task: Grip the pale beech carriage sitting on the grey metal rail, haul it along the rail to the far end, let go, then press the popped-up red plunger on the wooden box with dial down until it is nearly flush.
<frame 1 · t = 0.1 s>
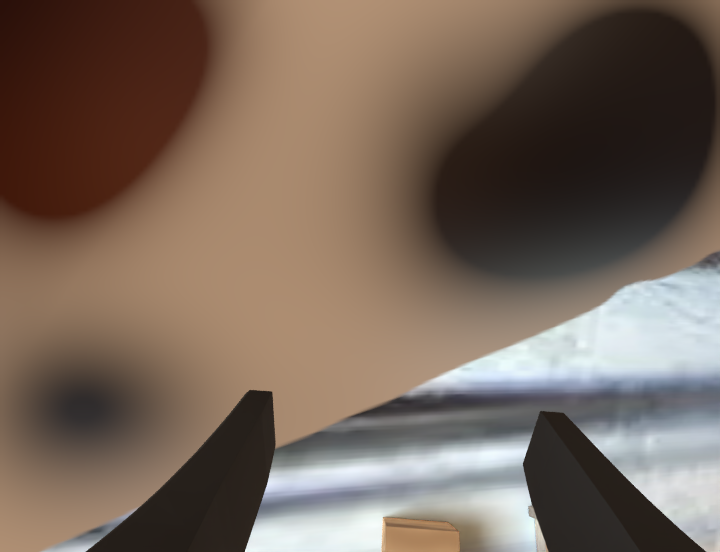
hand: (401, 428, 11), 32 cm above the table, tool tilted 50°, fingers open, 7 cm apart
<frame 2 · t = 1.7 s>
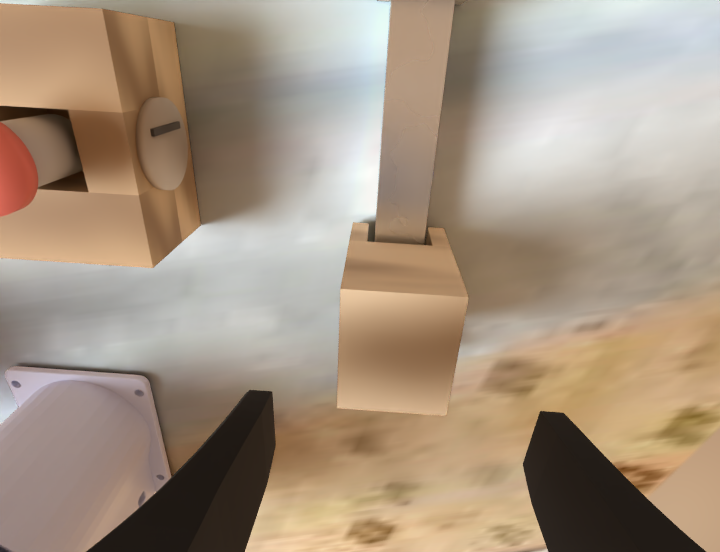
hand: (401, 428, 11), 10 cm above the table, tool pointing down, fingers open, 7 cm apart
wooden box with dial: (117, 130, 18), on the table
rail: (400, 194, 18), on the table
carriage: (395, 310, 17), point 3 cm above the table, slide at -3.8 cm
plunger: (21, 154, 13), point 5 cm above the table, slide at 0.0 cm
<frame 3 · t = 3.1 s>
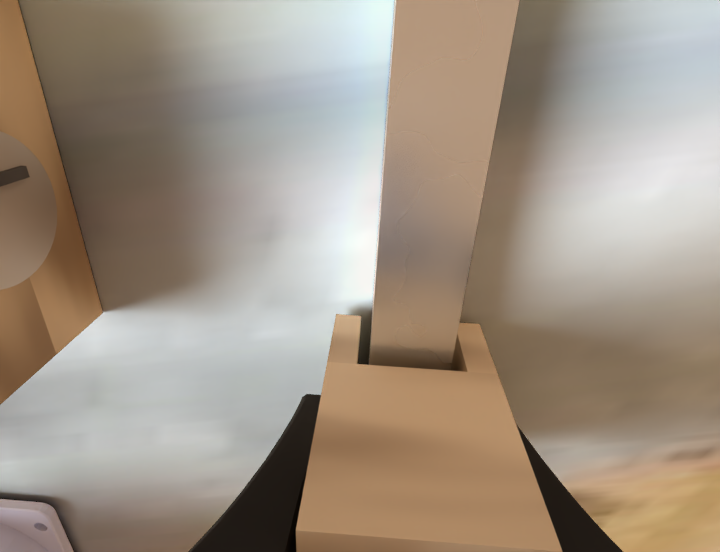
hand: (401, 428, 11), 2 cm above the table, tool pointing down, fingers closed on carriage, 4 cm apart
rail: (411, 272, 11), on the table
carriage: (403, 474, 10), point 3 cm above the table, slide at -3.8 cm, touching gripper
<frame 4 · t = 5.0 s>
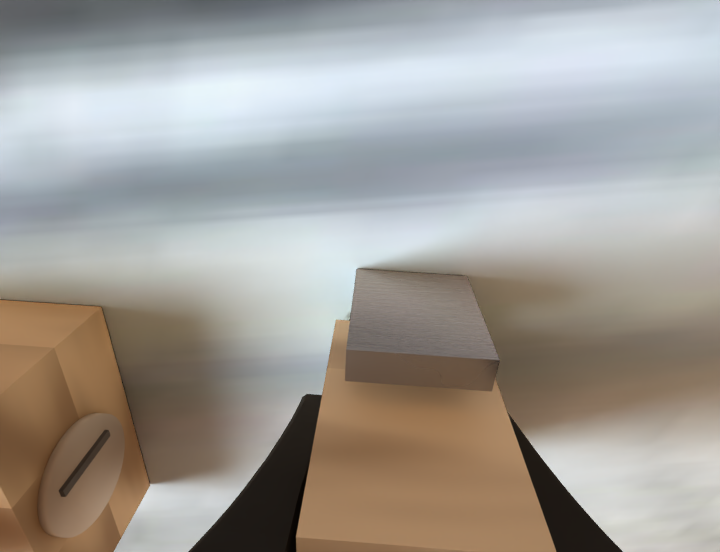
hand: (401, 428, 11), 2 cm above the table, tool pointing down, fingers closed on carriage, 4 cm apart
wooden box with dial: (42, 401, 14), on the table
rail: (388, 467, 15), on the table
carriage: (402, 479, 10), point 3 cm above the table, slide at 3.8 cm, touching gripper
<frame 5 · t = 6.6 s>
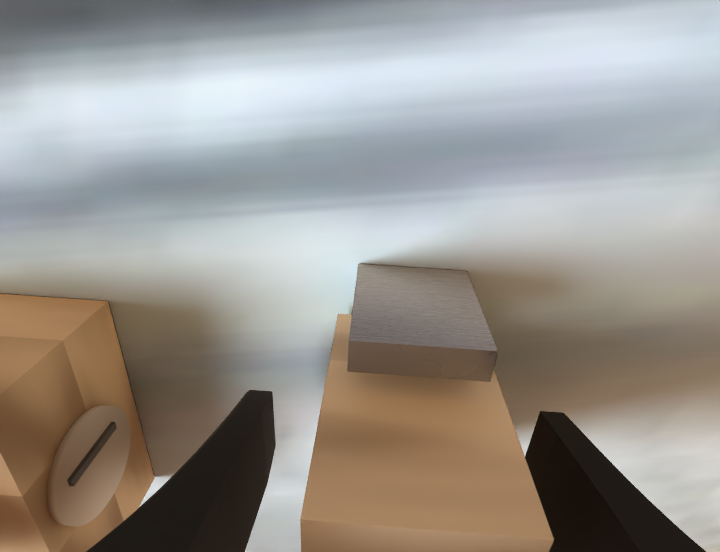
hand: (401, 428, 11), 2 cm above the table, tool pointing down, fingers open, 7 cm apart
wooden box with dial: (49, 394, 15), on the table
rail: (389, 460, 15), on the table
carriage: (403, 469, 10), point 3 cm above the table, slide at 3.8 cm
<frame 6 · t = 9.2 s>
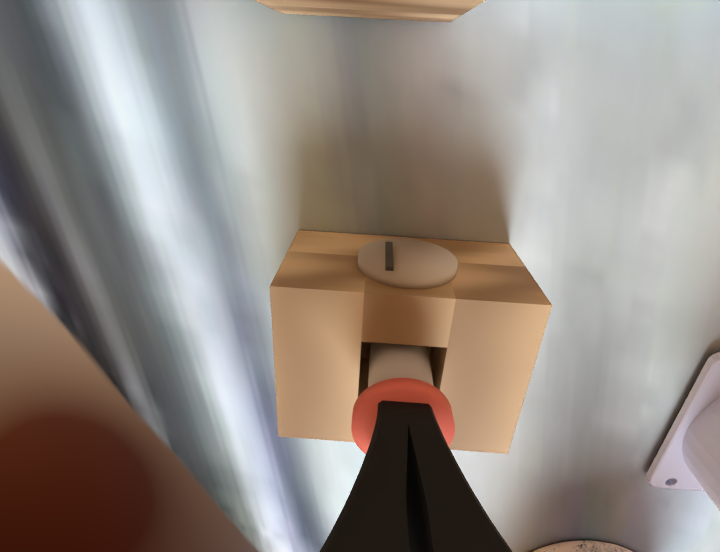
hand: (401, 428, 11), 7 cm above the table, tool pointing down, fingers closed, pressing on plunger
wooden box with dial: (396, 304, 17), on the table
plunger: (400, 386, 13), point 5 cm above the table, slide at 0.4 cm, touching gripper
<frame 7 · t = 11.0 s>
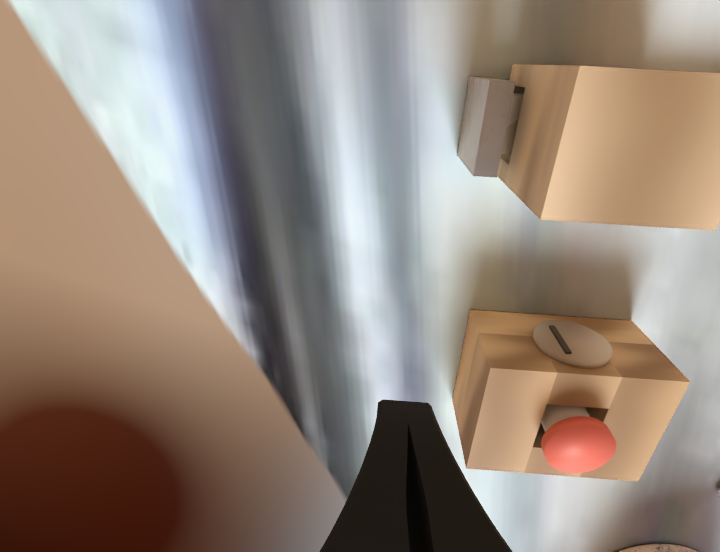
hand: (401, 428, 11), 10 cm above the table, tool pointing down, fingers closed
wooden box with dial: (536, 362, 22), on the table
rail: (658, 128, 17), on the table
carriage: (600, 136, 14), point 3 cm above the table, slide at 3.8 cm
plunger: (564, 418, 19), point 4 cm above the table, slide at 1.3 cm
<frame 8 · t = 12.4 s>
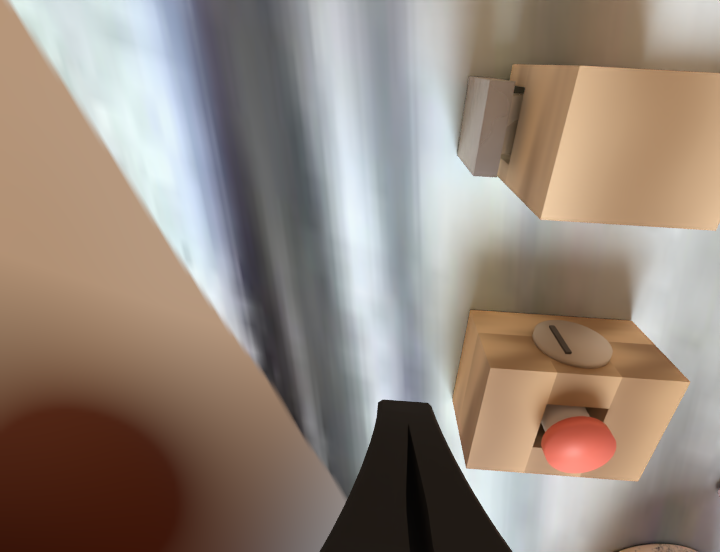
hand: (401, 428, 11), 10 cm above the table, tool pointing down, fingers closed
wooden box with dial: (536, 362, 22), on the table
rail: (658, 128, 17), on the table
carriage: (600, 136, 14), point 3 cm above the table, slide at 3.8 cm
plunger: (564, 418, 19), point 4 cm above the table, slide at 1.3 cm
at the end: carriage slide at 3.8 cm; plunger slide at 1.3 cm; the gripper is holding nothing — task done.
